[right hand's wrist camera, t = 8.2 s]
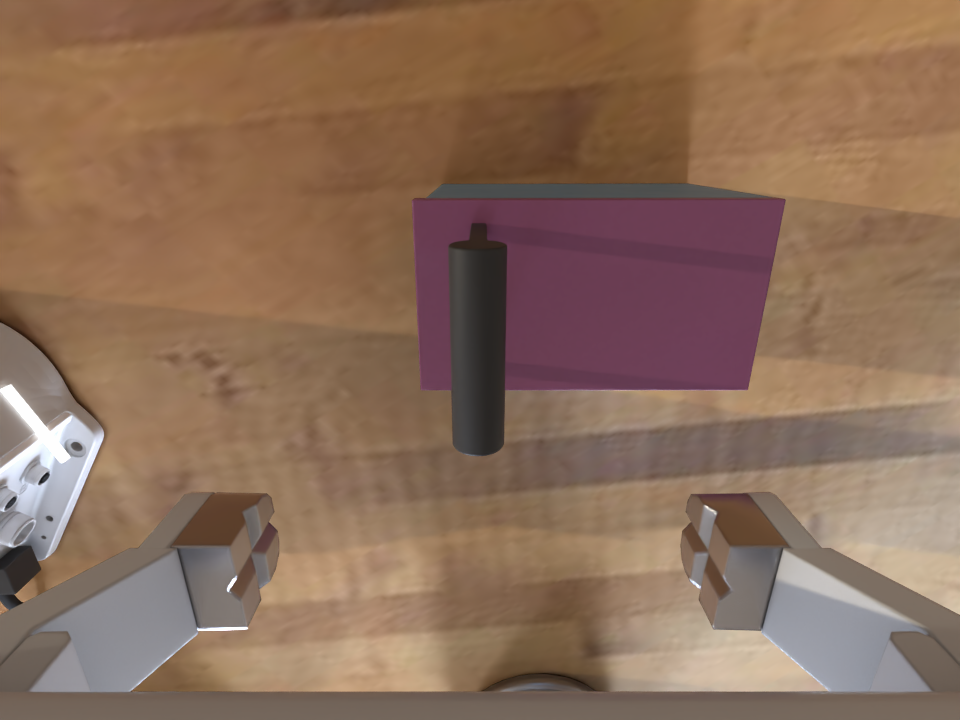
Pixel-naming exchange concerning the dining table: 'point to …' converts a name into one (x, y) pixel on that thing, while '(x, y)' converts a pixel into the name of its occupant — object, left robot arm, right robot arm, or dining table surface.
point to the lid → (586, 297)
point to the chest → (584, 191)
